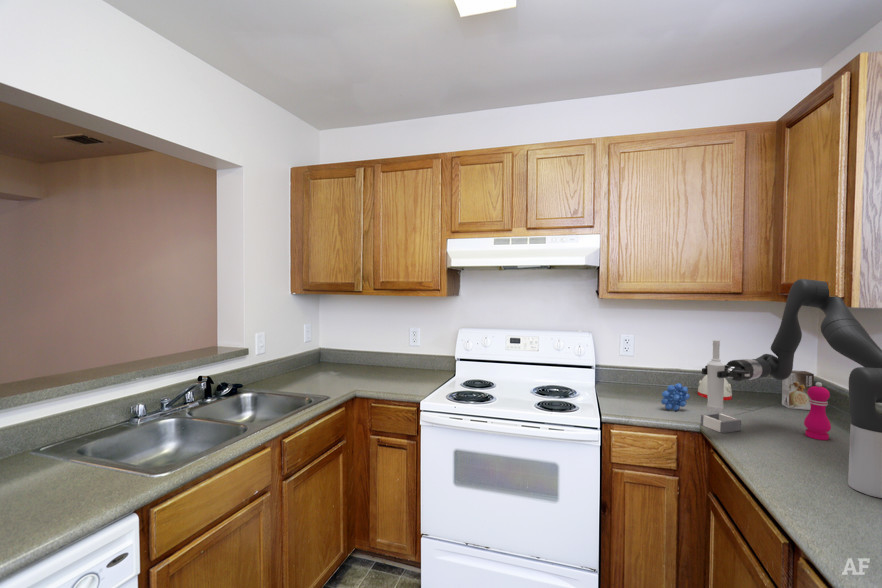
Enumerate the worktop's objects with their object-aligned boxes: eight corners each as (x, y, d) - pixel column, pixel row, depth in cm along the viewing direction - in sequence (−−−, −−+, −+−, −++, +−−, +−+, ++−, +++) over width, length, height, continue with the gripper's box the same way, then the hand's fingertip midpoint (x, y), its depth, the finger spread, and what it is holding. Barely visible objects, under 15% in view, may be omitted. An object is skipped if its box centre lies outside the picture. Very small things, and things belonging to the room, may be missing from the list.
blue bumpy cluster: (684, 407, 181) (685, 381, 180) (692, 412, 174) (692, 385, 173) (656, 407, 182) (657, 380, 181) (663, 411, 175) (664, 384, 175)
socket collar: (740, 430, 154) (741, 420, 153) (722, 433, 151) (723, 422, 151) (718, 422, 162) (718, 412, 162) (700, 424, 159) (701, 414, 159)
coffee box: (805, 406, 184) (806, 370, 183) (813, 410, 178) (815, 374, 177) (781, 404, 187) (782, 369, 186) (788, 408, 180) (789, 372, 180)
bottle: (707, 407, 149) (708, 339, 149) (724, 409, 146) (725, 340, 145) (705, 410, 145) (706, 340, 145) (723, 413, 142) (724, 341, 141)
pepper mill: (801, 436, 148) (803, 381, 147) (805, 431, 153) (807, 378, 152) (828, 442, 143) (831, 385, 142) (832, 437, 147) (834, 382, 147)
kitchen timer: (693, 395, 200) (694, 365, 199) (702, 390, 209) (703, 361, 209) (727, 402, 190) (728, 370, 189) (735, 396, 199) (736, 366, 198)
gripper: (724, 356, 157) (692, 359, 151) (765, 363, 143) (730, 366, 138) (724, 375, 157) (691, 379, 151) (764, 384, 143) (730, 388, 138)
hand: (710, 373), depth 144 cm, fingers closed on bottle, 5 cm apart
